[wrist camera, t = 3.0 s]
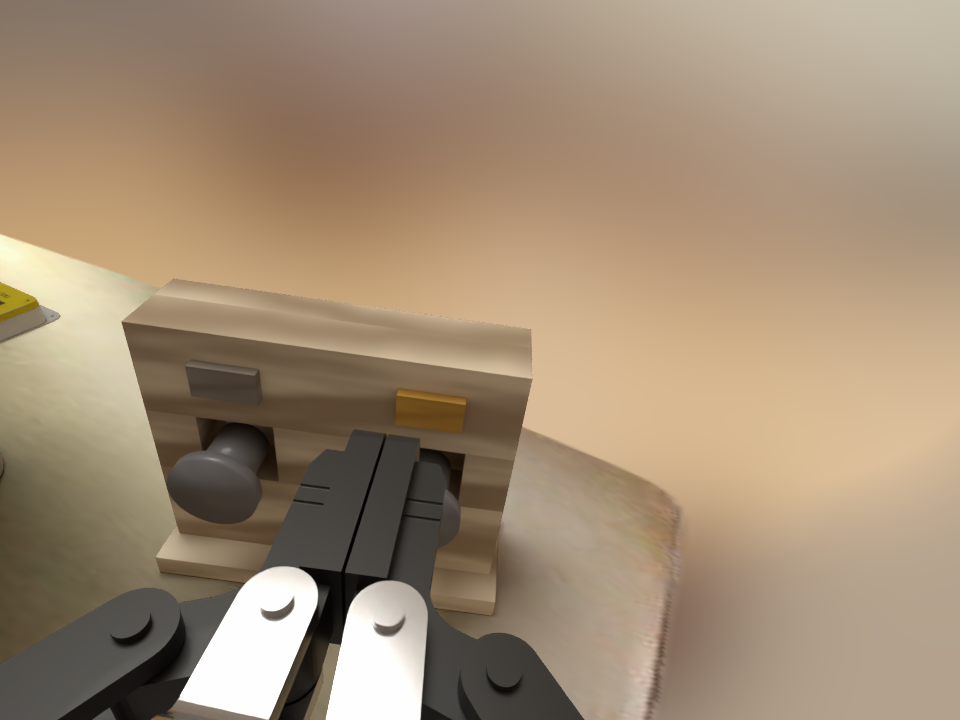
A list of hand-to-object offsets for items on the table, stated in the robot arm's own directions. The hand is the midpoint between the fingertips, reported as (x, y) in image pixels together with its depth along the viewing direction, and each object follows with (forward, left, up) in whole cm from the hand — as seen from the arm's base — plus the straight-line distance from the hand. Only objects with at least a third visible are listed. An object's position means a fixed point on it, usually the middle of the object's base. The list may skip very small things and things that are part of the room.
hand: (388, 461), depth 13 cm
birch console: (+3, +17, -25) cm, 30 cm away
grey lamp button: (-3, +17, -17) cm, 24 cm away
